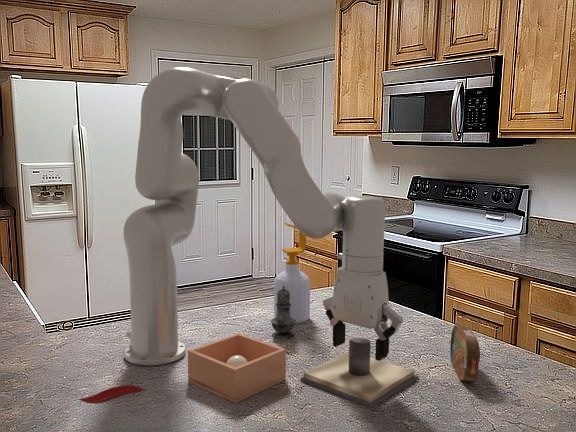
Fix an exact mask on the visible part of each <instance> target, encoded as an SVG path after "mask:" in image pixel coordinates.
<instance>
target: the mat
mask: <svg viewBox="0 0 576 432" xmlns="http://www.w3.org/2000/svg"><path fill="white" fill-rule="evenodd" d="M417 380H419V375H417V374H414V376H413V377H411V378H409V379H408V380H406V381H405V382H403V383H401V384H400V385H398V386H397V387H395V388H393V389H392V390H390V391H388V392H387V393H385V394H384V395H382V396H380V397H379V398H377V399H376V400H374V401H372V402H371V403H370V402H367V401H364V400H362V399H359V398H356V397H354V396H351V395H348V394H346V393H343V392H340V391H338V390H335V389H332V388H330V387H327V386H324V385H322V384H319V383H316V382H314V381H311V380H308V379H306V378H304V375H303V376H302V377H300V382H303V383H306V384H307V385H308V384H309V385H311V386H313V387H316V388H319V389H321V390H323V391H327V392H328V393H332V394H334V395H337V396H340V397H342V398H345V399H348V400H350V401H353V402H356V404H357V403H358V404H360V405H363V406H366V407H369V408H371V409H372V408H375V407H376V406H378V405H379V404H380V403H383V402H384V401H386V400H387V399H389V398H390V397H392V396H393V395H395V394H396V393H398V392H401V390H403V389H404V388H406V387H408V386H410V385H411V384H412V383H414V382H415V381H417Z"/></svg>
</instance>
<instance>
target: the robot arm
mask: <svg viewBox="0 0 576 432" xmlns="http://www.w3.org/2000/svg"><path fill="white" fill-rule="evenodd" d="M140 104H141V105H140V127H139V137H138V145H137V156H136V164H135V175H134V180H135V188H136V189H137V192H138V193H139V194H140V196H142V197H144V198H145V199H148V200H151V201H155V204H150V205H147V206H146V205H145V206H143V207H140V208H138V209H136V210H134V211H133V212H132V213H131V214H130V215H129V216H128V217H127V218H126V220H125V223H124V225H123V240H124V246H125V249H126V250H125V251H126V254H127V261H128V271H129V272H128V273H129V292H130V293H129V294H130V296H129V297H130V299H129V300H130V322H131V323H130V324H131V325H130V327H131V330H128V331H127V332H126V333H125V336H126V338H128V339H130V345H128V346H127V347H126V348H125V350H124V352H123V353H124V354H123V355H124V358H125V360H126V361H127V362H128V363H131V364H134V365H139V366H160V365H167V364H170V363H172V362H173V363H174V362H176V361H178V360H180V359H182V358H183V357H184V356H185V354H186V345H185V343H183V342H181V341H179V324H178V322H179V321H178V318H179V317H178V277H177V273H178V272H177V265H176V261H175V258H174V255H173V252H172V247H174V246H175V245H178V244H181V243H183V242H184V241H185V240H187V239H188V238H189V237H190V235H191V234H192V232H193V230H194V227H195V226H194V225H195V219H196V213H197V212H196V211H197V202H198V194H199V193H198V192H199V183H200V181H199V179H200V177H199V176H200V175H199V171H198V167H197V165H196V163H195V162H194V160H193V159H192V158H191V157H190V156H189V155H187V154H185V153H183V152H182V150H183V141H184V129H183V128H184V127H183V123H182V116H183V115H184V114H193V115H198V116H199V115H201V116H208V117H213V118H220V119H224V120H229V121H230V122H231V123H232V125H233V126H234V127H235V128H236V130H237V131H238V133H239V134H240V136H241V137H242V138H243V139H244V141H245V143H246V144H247V146H248V147H249V148H250V149H251V151H252V153H253V154H254V156H255V157H256V159H257V160H258V162H259V163H260V165H261V166H262V169H263V173H264V175H265V177H266V179H267V182H268V185H269V186H270V189H271V191H272V194H273V195H274V197H275V200H276V201H277V202H278V204H279V205H280V207H281V208H282V210H283V211H284V213H285V214H286V215H287V217H288V218H289V220H290V221H291V223H292V225H295V226H296V228H295V229H297V230H298V232H299V231H300V232H301V233H303V234H304V235H305V236H306V238H307V237H308V238H310V239H314V240H315V239H316V240H319V239H323V238H326V237H328V236H330V235H331V234H332V233H334V232H337V231H342V252H339V253H338V255H337V259H338V260H340V261H341V266H340V267H338V269H337V273H336V276H335V280H334V287H333V292H332V293H333V294H332V296H331V297H328V298H325V299H323V300H322V305H323V307H324V310H325V315H326V317H327V318H328V319H329V324H330V326H331V327H332V347H333V348H337V347H339V346H342V345H344V344H345V343H346V323H347V324H350V325H354V326H357V327H361V328H364V329H373V331H374V332H375V334H376V335H377V337H378V338H377V339H376V340H375V354H374V355H375V357H374V359H376V360H378V361H380V360H381V361H383V360H384V359H385V358H387V357H388V355H389V351H390V337H392V336H394V335H395V334H396V333H397V332H398V331H399V329H400V327H401V325H402V324H403V323H404V318H403V317H402V316H401V315H400V314H399V313H397V312H396V311H395V310H394V309H392V307H390V304H389V302H390V301H389V287H388V279H387V274H386V271H384V248H385V246H384V245H385V224H386V222H385V221H386V204H385V201H384V199H382V198H380V197H379V196H378V197H377V196H373V195H372V196H371V195H352V196H350V195H343V194H338V193H332V192H322V191H321V190H320V189H319V187H318V186H317V184H316V183H315V181H314V180H313V178H312V176H311V175H310V173H309V171H308V170H307V167H306V164H305V162H304V160H303V156H302V147H301V141H300V139H299V137H298V135H297V133H295V131H294V130H293V129H292V127H291V126H290V124H289V123H288V122H287V121H286V119H285V117H284V116H283V115H282V113H281V111H280V110H279V99H278V96H277V93H276V92H275V91H274V89H273V88H272V87H271V86H269V85H268V84H266V83H264V82H260V81H258V80H255V79H251V78H241V79H236V78H231V77H226V76H222V75H216V74H211V73H209V72H205V71H201V70H199V69H195V68H191V67H182V66H179V67H178V66H177V67H172V68H168V69H165V70H163V71H161V72H158V73H157V74H156V75H154V77H153V78H152V79H150V81H149V82H148V84H147V85H146V86H145V88H144V91H143V94H142V98H141V103H140ZM388 320H390V321H391V324H390V325H388Z"/></svg>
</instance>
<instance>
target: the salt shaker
mask: <svg viewBox="0 0 576 432" xmlns="http://www.w3.org/2000/svg"><path fill="white" fill-rule="evenodd" d="M282 288H283V289H281V290H279V291H278V293H277V304H276V306H277V315H276V318H275V317H273V318H271V320H270V323H271V326H272V328H273V330H274V332H273V333H272V334H271V337H272V338H273V339H276V340H282V341H283V340H285V341H286V340H290V339H291V340H292V339H293V338H294V337H295V336H296V335H295V333H293V332H292V331H293V330H294V328H295V324H297V323H296V320H295V319H293V318H291V316H290V306H291V304H290V293H289V291H288V290H286V289H285V287H284V286H283V287H282Z"/></svg>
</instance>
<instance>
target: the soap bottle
mask: <svg viewBox="0 0 576 432" xmlns="http://www.w3.org/2000/svg"><path fill="white" fill-rule="evenodd" d="M284 225H286V226H287V227H291V228H294V229H297V228H296V226H295V225H294V224H293V223H292V224H291V223H288V222H285V223H284ZM298 232H299V235H298V237H299V238H298V240H299V241H298V242H299V243H298V247H293V248H292V247H291V248H282V249H281V251H282V252H283V253H285V254H286V255H287V256H288V259H286V261H285V269H284V270H283V271H281V272H280V273H279V274H278V275H276V276H275V278H274V281H273V284H274V285H273V286H274V287H273V294H274V295H273V297H274V298H273V318H276V315H277V306H276V304H277V293H278V291H279V290H281V289H283V288H282V287H283V286H284V287H285V289H286V290H288V291H289V293H290V304H291V306H290V316H291V318H293V319H295V320H296V323H295V324H299V323H304V322H306V321H308V320H309V319H310V317H311V316H310V315H311V313H310V311H311V307H310V306H311V280H310V277H309V276H308V275H307V274H306V273H305V272H303V271H302V270H300V261H299V260H298V259H297V257H298V255H299V254H301V253H304V252H305V251H306V247H307V245H306V244H307V236H305V235H304V234H303V233H301V232H300V231H299V230H298Z"/></svg>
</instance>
